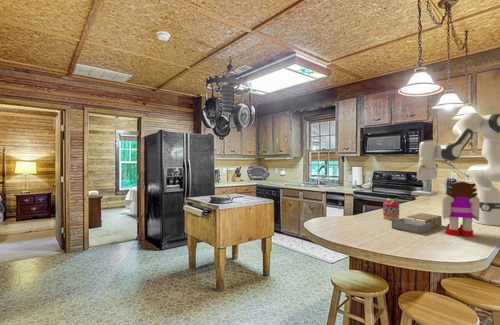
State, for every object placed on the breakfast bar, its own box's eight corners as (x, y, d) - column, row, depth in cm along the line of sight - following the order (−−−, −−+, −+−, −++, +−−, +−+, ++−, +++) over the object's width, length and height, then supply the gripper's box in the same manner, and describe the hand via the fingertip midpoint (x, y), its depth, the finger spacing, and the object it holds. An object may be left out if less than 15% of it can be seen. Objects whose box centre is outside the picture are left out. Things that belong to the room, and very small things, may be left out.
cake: (382, 219, 195) (382, 198, 195) (383, 216, 204) (383, 196, 204) (399, 220, 189) (399, 199, 189) (399, 218, 199) (399, 197, 199)
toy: (474, 233, 157) (474, 181, 157) (482, 237, 149) (483, 182, 148) (438, 231, 162) (438, 180, 162) (444, 235, 153) (444, 181, 153)
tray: (403, 225, 177) (403, 217, 177) (430, 230, 164) (431, 222, 164) (391, 228, 169) (391, 220, 169) (419, 233, 156) (419, 225, 156)
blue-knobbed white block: (418, 193, 183) (418, 179, 183) (437, 195, 174) (437, 180, 174) (411, 194, 177) (410, 180, 177) (429, 196, 168) (429, 181, 168)
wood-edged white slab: (421, 221, 187) (421, 213, 187) (441, 225, 177) (441, 216, 177) (406, 225, 175) (406, 216, 175) (427, 229, 165) (427, 219, 165)
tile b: (406, 217, 174) (404, 217, 173) (414, 218, 170) (412, 219, 169) (406, 225, 174) (404, 225, 173) (414, 226, 170) (412, 227, 169)
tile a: (416, 219, 169) (414, 219, 168) (425, 220, 165) (423, 221, 164) (416, 227, 169) (414, 227, 168) (425, 228, 165) (423, 229, 164)
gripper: (424, 165, 169) (424, 187, 169) (439, 165, 180) (439, 186, 181) (413, 165, 174) (413, 187, 174) (428, 164, 186) (428, 185, 186)
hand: (426, 186), depth 177 cm, fingers closed on blue-knobbed white block, 3 cm apart
